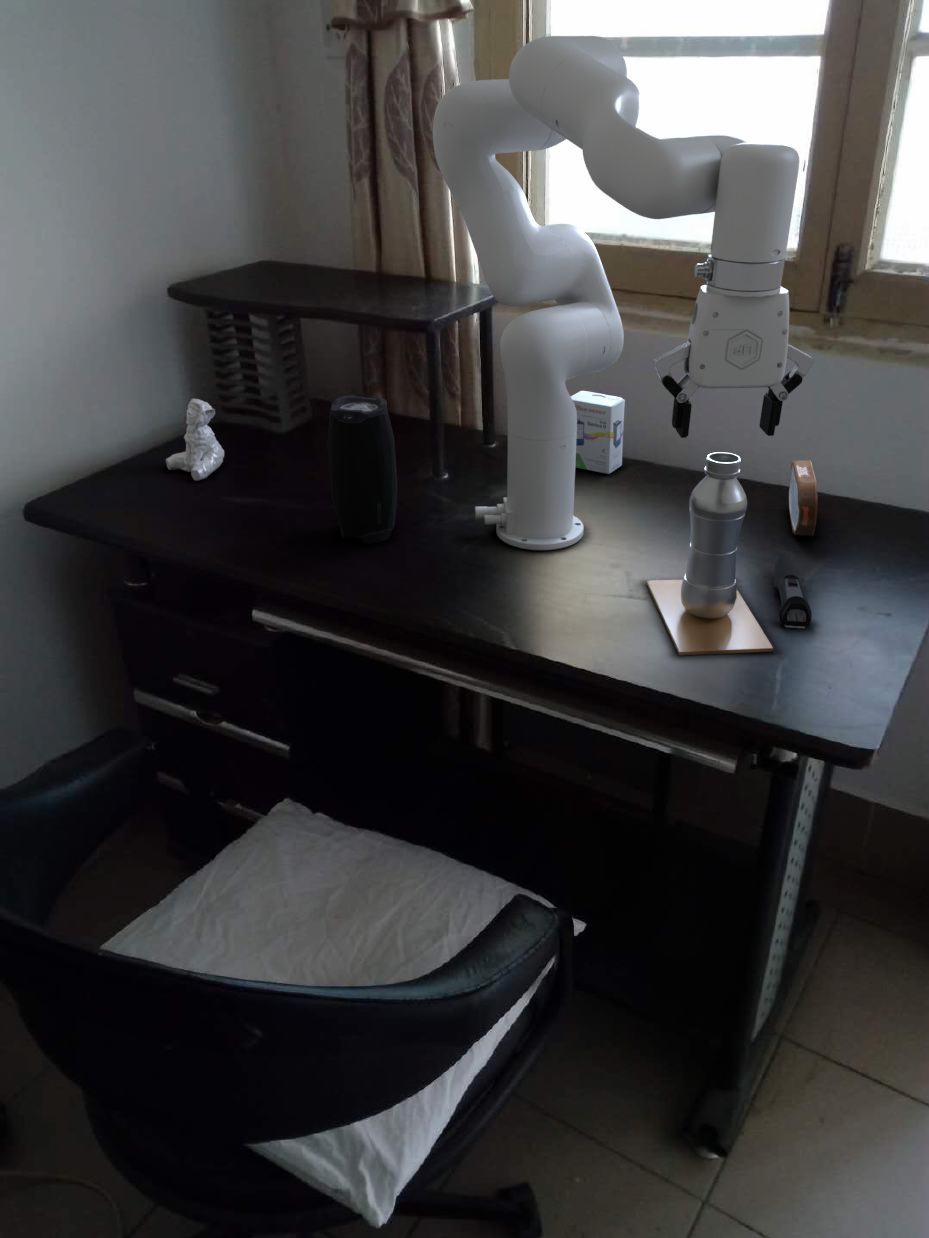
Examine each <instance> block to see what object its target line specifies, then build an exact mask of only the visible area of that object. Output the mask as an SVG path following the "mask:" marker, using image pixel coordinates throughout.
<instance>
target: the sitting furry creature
mask: <svg viewBox="0 0 929 1238" xmlns="http://www.w3.org/2000/svg"><path fill="white" fill-rule="evenodd" d="M215 415H216V409H215V408H213V406H212V405H210V403H208V401H204V400H201V399H199V398H191V399H190V401H189V403H188V405H187V409H186V422H185V424H186V425H187V426H186V430H185V432H186V433H185V434H184V436H183V439H184V441H185V451H182V452H176V453H174V454H171V455H170V456H169V457H167V458H165V464H166V467H167V469H168V471H177V470H181V471H184V472H187V473H190V475H191V478H192V479H193V480H194V481H195V482H198V481H202V480H204V479H207V478H208V477H209V476H210V475H211V474H212V473H214V472H215V471H216V470H217V469H218V468H220V466H221V465H222V463H223V462H224V458H225V450H224V449H223V447H222V445H221V444H220V443H219V441H218V440H217V438H216V436H215V434H216V433H214V431H213V430H212V428H211V427H210V426H209V423H210V422H211V420H212V419H213V418H214V416H215Z"/></svg>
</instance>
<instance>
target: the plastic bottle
mask: <svg viewBox="0 0 929 1238" xmlns="http://www.w3.org/2000/svg"><path fill="white" fill-rule="evenodd" d="M705 462H706V463H705V467H704V471H703V472H704V474H705V476H704V477H703V478H702V479H701V480H700V481H699V482H698V483H697V484H696V485H695V487H694V488H693V489H692V491H691V493H690V496H689V497H688V498H689V500H688V502H689V503H688V507H689V509H688V510H689V522H690V525H689V527H690V533H689V534H690V535H689V536H690V539H689V540H690V543H689V552H688V553H689V554H688V560H687V564H686V570H685V574H684V576H683V578H682V579H683V582H682V586H681V602H682V604H683V606H684V608H685V609H686V610H687V611H688V612H689V613H690V614H692V615H695V616H698V617H702V618H720V617H724V616H726V615H727V614H728V613H729V612H730V611H731V610H732V609H733V607H734V605H735V601H736V598H737V590H738V587H737V579H736V570H737V569H736V566H737V565H736V564H737V563H736V562H737V551H738V546H739V541H740V534H741V530H742V527H743V524H744V520H745V516H746V512H747V508H748V499H747V494H746V492H745V490H744V488H743V486H742V484H741V483H740V482H739V480H738V479H737V478H738V477H739V476H740V473H741V472H740V471H741V469H740V468H741V467H740V466H741V457H740V456H739V455H737V454H734V453H731V452H722V451H721V452H719V451H717V452H712V453H709V454H707V457H706V460H705Z"/></svg>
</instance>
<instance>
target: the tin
mask: <svg viewBox="0 0 929 1238" xmlns="http://www.w3.org/2000/svg"><path fill="white" fill-rule="evenodd" d="M789 484H790V485H789V489H788V511H789V518H790V523H791V524H790V525H791V529H792V533H793V535H795V536H799V537H800V536H801V537H802V536H803V537H806V536H807V537H814V536H815V531H816V526H817V517H818V483H817V478H816V474H815V469H814V466H813V462H812V460H811V459H807V460H804V459H803V460H793V461H792V462H791V465H790V483H789Z"/></svg>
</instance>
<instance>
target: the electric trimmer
mask: <svg viewBox="0 0 929 1238" xmlns="http://www.w3.org/2000/svg"><path fill="white" fill-rule="evenodd" d="M773 572H774V574H773V575H774V576H773V589H774V590H775V591H776V592H778V593H779V598H780V609H779V612H778V613H779V615H778V616H779V621H780V623H781V624H782V625H784V627H785V628H794V629H795V628H796V629H805V628H807V627H808V626H810V624H811V622H812V616H813V615H812V609H811V605H810V603H809V599H808V597H807V594H806V591H805V589H804V585H803V583H802V580H801V578H800V575H799V572H798V570H797V567H796V564H795V563H794V560H793V557H792V555H791V554H790V553H789V552H787V551H784V552H781V553H780V554H779V556H778V558H777V559H776V561H775V564H774V571H773Z"/></svg>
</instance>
